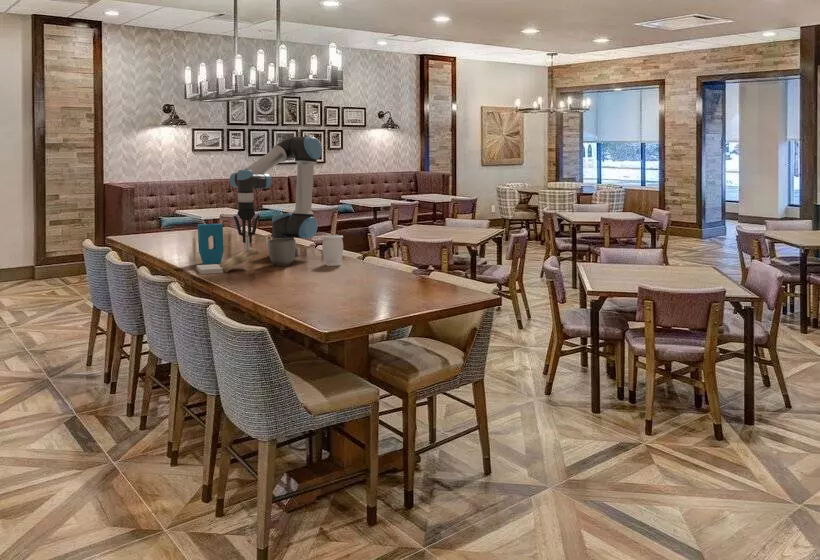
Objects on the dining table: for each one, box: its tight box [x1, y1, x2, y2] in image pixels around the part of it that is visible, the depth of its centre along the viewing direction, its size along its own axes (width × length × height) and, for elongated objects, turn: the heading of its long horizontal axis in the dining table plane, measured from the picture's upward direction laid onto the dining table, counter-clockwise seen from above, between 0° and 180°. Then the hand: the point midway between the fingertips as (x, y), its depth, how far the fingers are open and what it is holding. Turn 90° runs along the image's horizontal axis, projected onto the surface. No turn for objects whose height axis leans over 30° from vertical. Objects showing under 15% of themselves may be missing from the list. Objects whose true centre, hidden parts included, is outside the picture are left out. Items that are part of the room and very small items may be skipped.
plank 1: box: [218, 247, 254, 268], centre depth 378 cm, size 18×6×2 cm, turn 111°
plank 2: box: [222, 247, 259, 273], centre depth 370 cm, size 18×6×2 cm, turn 113°
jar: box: [321, 234, 344, 267], centre depth 388 cm, size 11×10×15 cm
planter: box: [267, 238, 297, 267], centre depth 387 cm, size 14×14×13 cm
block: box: [197, 223, 225, 265], centre depth 392 cm, size 12×5×20 cm, turn 117°
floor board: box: [196, 264, 225, 275], centre depth 370 cm, size 11×15×2 cm
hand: (247, 249), depth 379 cm, fingers closed
